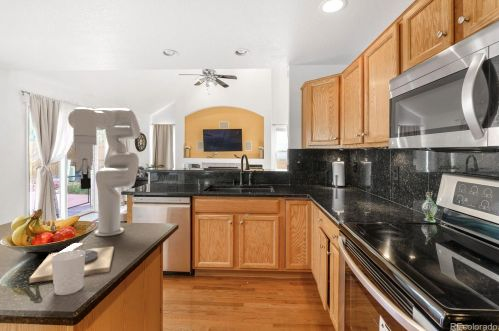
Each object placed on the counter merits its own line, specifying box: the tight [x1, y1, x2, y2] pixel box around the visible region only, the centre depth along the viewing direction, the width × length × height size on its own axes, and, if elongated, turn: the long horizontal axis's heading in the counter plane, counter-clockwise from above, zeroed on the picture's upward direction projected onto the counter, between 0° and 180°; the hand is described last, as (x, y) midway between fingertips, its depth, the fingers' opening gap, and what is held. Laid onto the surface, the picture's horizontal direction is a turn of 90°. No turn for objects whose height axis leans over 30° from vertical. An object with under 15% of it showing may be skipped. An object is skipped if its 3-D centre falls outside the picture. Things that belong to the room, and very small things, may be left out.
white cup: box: [51, 250, 85, 296], centre depth 75 cm, size 8×8×10 cm
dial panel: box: [28, 246, 115, 284], centre depth 92 cm, size 21×21×4 cm
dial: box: [58, 242, 98, 263], centre depth 91 cm, size 14×12×5 cm
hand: (85, 188), depth 102 cm, fingers closed
